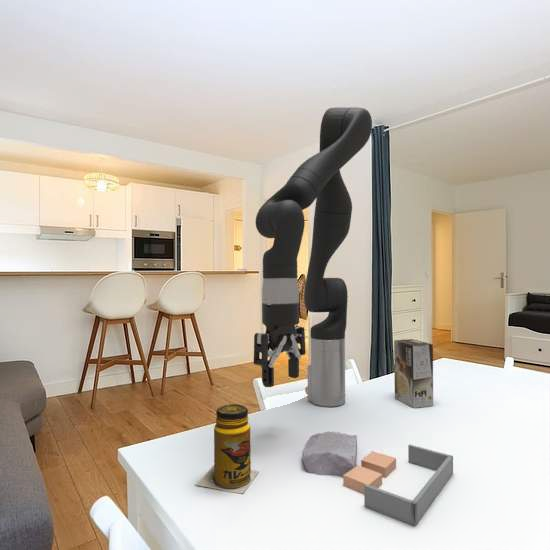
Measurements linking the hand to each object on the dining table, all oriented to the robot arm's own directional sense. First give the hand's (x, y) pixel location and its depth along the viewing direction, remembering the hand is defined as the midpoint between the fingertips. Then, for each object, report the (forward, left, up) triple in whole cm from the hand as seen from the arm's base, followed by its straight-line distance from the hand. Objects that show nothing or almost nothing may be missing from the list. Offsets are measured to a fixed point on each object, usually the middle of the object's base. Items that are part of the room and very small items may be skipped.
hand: (281, 381), depth 80 cm
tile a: (+20, -4, -13) cm, 24 cm away
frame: (+26, 0, -13) cm, 29 cm away
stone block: (+11, 0, -13) cm, 17 cm away
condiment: (+1, -16, -13) cm, 21 cm away
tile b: (+19, +3, -13) cm, 24 cm away
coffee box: (+11, +43, -13) cm, 46 cm away
